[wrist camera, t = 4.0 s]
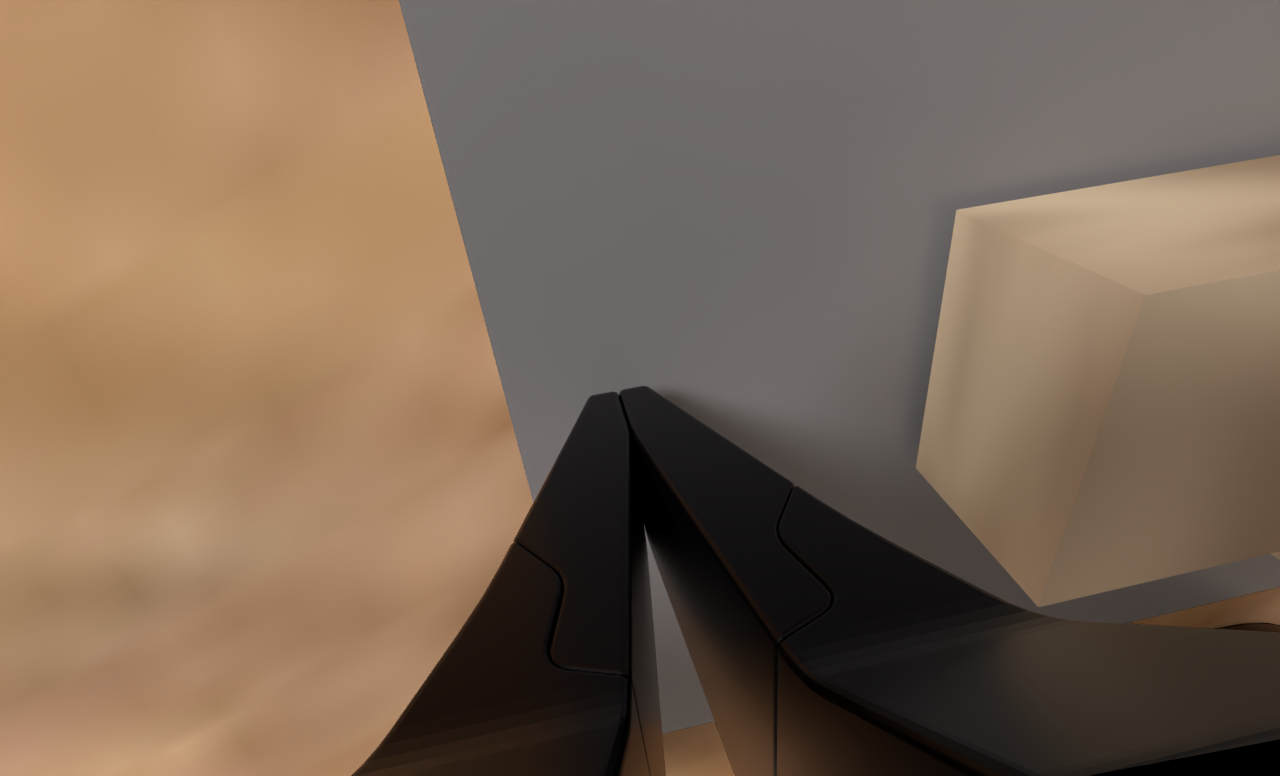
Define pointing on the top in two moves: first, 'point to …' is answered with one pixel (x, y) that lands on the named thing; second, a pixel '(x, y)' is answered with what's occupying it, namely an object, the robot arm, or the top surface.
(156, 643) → the top surface
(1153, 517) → the maple T-block
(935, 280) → the board
